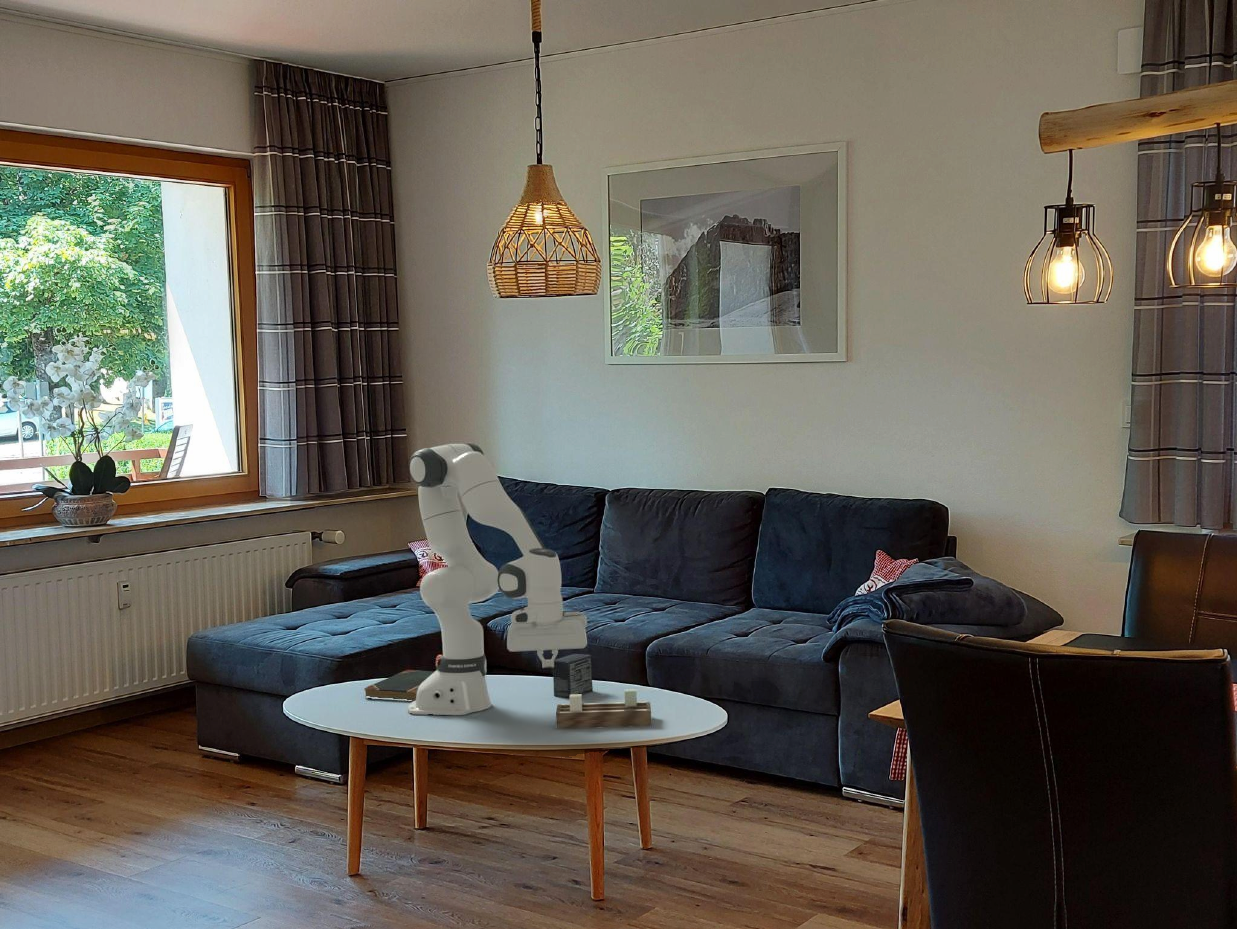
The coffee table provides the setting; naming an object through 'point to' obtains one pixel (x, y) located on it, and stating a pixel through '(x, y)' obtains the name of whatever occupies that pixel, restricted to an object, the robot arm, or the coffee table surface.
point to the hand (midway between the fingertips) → (548, 667)
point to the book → (399, 685)
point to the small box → (572, 675)
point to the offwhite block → (575, 702)
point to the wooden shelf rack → (603, 715)
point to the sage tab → (630, 697)
